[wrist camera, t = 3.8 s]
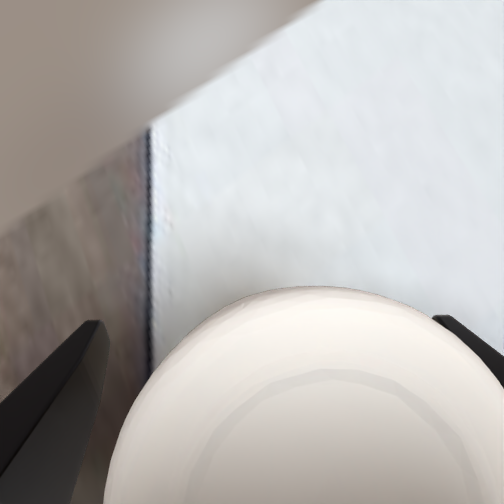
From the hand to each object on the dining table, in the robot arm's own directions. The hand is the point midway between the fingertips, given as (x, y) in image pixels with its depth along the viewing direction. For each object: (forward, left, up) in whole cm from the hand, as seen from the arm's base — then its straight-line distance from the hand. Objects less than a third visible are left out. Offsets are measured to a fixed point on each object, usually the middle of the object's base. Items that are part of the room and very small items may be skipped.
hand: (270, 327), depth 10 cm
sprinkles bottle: (-1, -1, -7) cm, 7 cm away
